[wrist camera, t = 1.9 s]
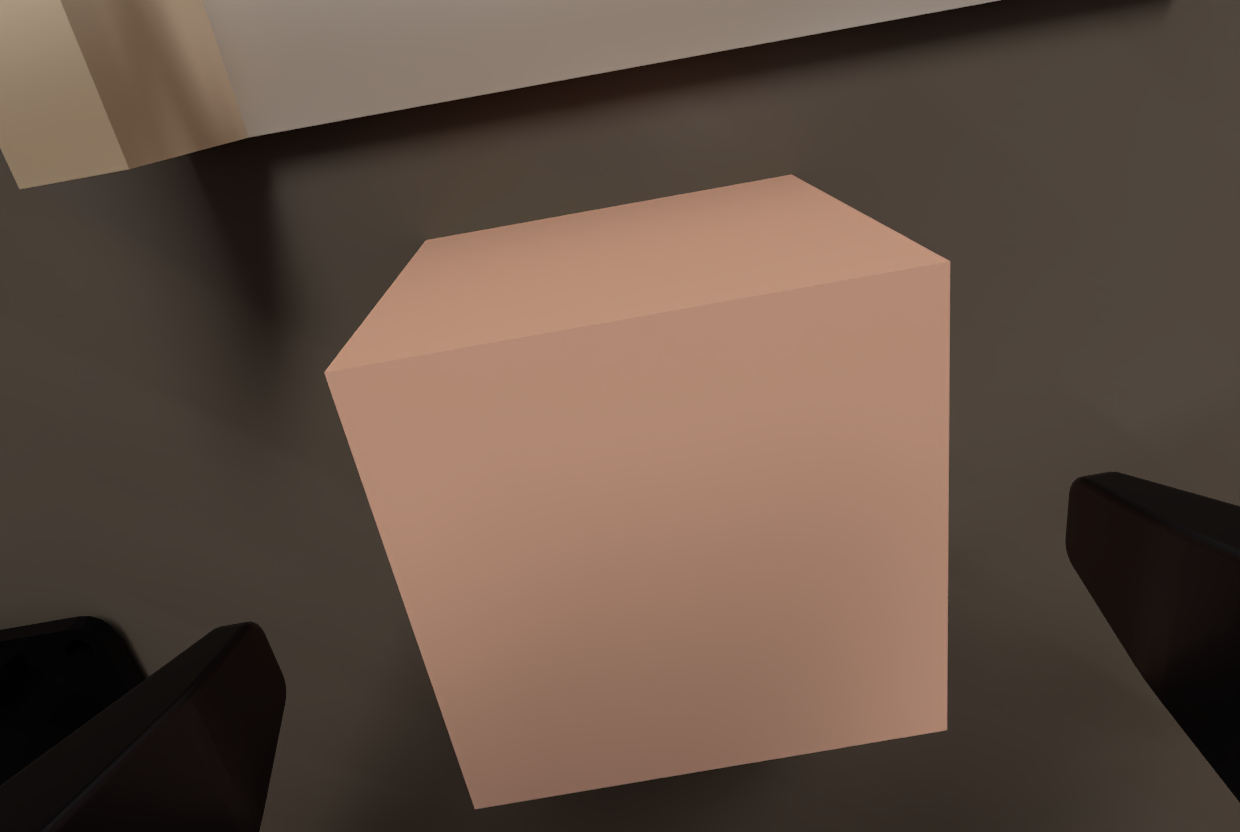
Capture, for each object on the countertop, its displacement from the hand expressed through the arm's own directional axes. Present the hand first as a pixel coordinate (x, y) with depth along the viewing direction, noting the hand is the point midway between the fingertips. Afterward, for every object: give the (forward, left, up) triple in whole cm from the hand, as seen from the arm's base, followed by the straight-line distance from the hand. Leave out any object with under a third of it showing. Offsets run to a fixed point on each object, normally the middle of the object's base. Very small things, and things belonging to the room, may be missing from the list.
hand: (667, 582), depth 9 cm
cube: (0, 0, -6) cm, 6 cm away
